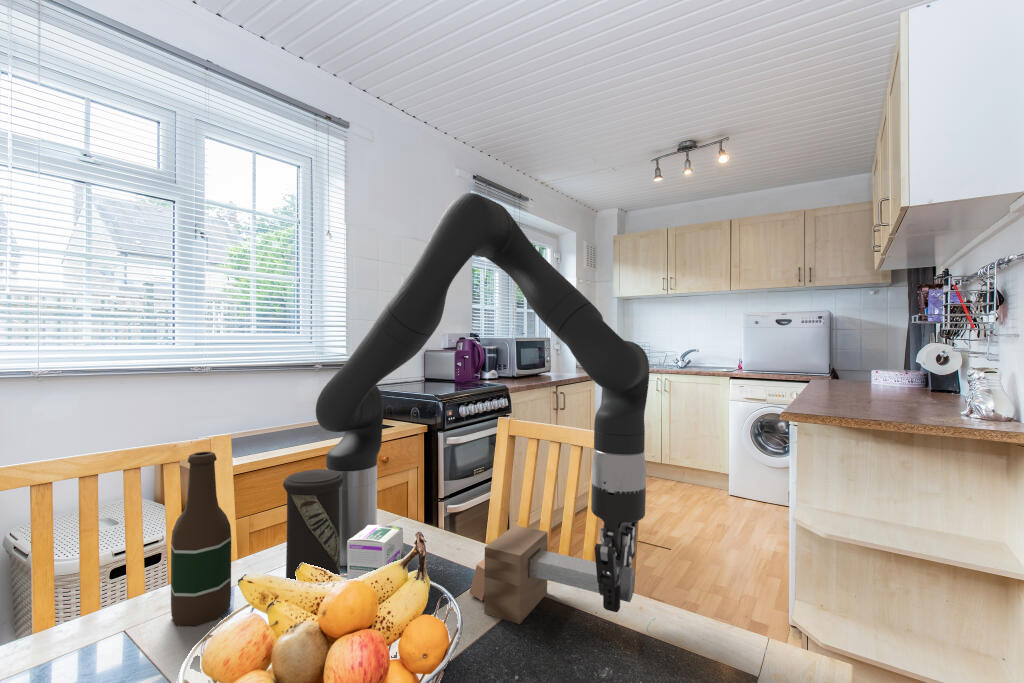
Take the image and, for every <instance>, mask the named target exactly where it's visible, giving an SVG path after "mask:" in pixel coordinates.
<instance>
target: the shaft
mask: <svg viewBox="0 0 1024 683" xmlns="http://www.w3.org/2000/svg"><path fill="white" fill-rule="evenodd" d="M607 574H610V573H609V572H607ZM528 575H529V576H533V577H537V578H541V579H545V580H547V581H549V582H553V583H556V584H557V583H558V584H562V585H565V586H569V587H574V588H577V589H582V590H584V591H585V590H586V591H589V592H594V593H598V594H599V595H600V596H602V597H603V587H604V584H599V583H598V582H597V570H596V561H592V560H589V559H585V558H584V559H583V558H579V557H574V556H570V555H566V554H562V553H558V552H553V551H548V550H547V551H544V550H539V549H538V550H537V551H536V552H535V553H534V554H533V555H531V556H530V557H529V558H528ZM635 575H636V574H635V568H633V567H631V568H630V567H623V568H622V574H621V590H620V601H623V602H626V603H631V601H632V598H633V596H634V591H635V581H636V578H635Z"/></svg>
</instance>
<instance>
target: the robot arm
mask: <svg viewBox="0 0 1024 683" xmlns="http://www.w3.org/2000/svg"><path fill="white" fill-rule="evenodd" d="M473 256H475V257H479V258H485V259H486V260H489V261H490V262H491V263H493V264H494V265H496V266H497V267H498V268H499V269H501V270H502V271H503V272H505V273H506V274H507V275H508V276H509V277H510V278H511V279H512V281H513V282H514V283H515V284H516V286H518V288H519V290H520V291H521V293H522V295H523V296H524V298H525V299H526V301H527V303H528V305H529V306H530V307H531V309H532V310H533V311H534V313H535V314H536V315H537V317H538V318H539V319H540V320H541V321H542V322H543V323H544V325H545V326H546V327H547V328H549V330H550V331H551V332H552V333H553V334H554V335H555V336H556V337H557V338H558V339H560V341H561V342H563V343H564V344H565V345H566V347H567V348H568V349H569V350H570V353H571V354H572V355H573V357H574V358H575V360H576V361H577V362H578V364H579V365H580V367H581V369H583V370H584V372H585V373H586V374H587V375H588V376H589V378H590V379H591V380H592V381H594V383H595V384H597V385H598V386H599V387H600V388H601V398H600V399H601V403H600V406H599V408H598V409H597V411H596V412H595V417H594V422H593V423H594V424H593V428H594V430H593V455H592V461H591V494H590V496H591V499H590V500H591V503H590V504H591V505H590V508H591V509H590V510H591V512H592V514H593V515H594V516H595V517H597V518H599V519H601V520H602V521H603V527H601V528H600V533H599V541H600V543H596V544H595V545H594V555H595V556H594V558H595V562H596V570H597V582H598V583H599V584H604V587H603V596H602V598H603V601H602V605H603V608H604V610H606V611H610V612H613V613H618V612H619V611H620V609H621V600H620V590H621V574H622V568H623V567H630V568H632V566H633V562H632V560H634V558H635V557H636V541H637V528H638V525H637V524H638V523H639V521H642V520H643V519H644V518H645V516H646V495H647V494H646V493H647V492H646V487H647V469H646V468H647V466H646V464H647V463H646V457H645V444H646V443H645V442H646V439H645V438H646V432H645V429H646V427H645V411H646V406H647V398H648V392H649V382H650V363H649V362H650V361H649V358H648V355H647V353H646V351H645V350H644V349H643V347H642V346H640V345H639V344H637V343H636V342H633V341H629V340H624V339H623V338H622V337H620V335H619V334H618V333H616V332H615V330H613V329H612V327H610V326H609V325H608V323H606V322H605V321H604V318H603V315H602V313H601V312H600V310H598V308H597V307H596V306H595V305H594V304H593V303H592V302H591V301H590V300H589V299H588V298H587V297H586V296H584V295H583V294H582V293H581V291H579V289H577V287H575V286H574V285H573V284H572V283H571V282H570V281H569V280H568V279H566V278H565V277H564V276H563V275H562V274H561V273H560V272H559V271H558V270H557V269H556V268H555V267H554V266H553V265H552V264H551V263H550V262H548V260H547V259H546V258H545V257H544V256H543V255H542V254H541V253H540V251H538V249H537V248H536V247H535V246H534V244H533V243H532V242H531V241H530V240H529V238H528V236H526V234H525V233H524V231H523V230H522V229H521V227H520V226H519V224H518V223H517V221H515V219H514V217H513V216H512V214H510V212H509V211H508V210H507V208H505V207H504V206H503V205H502V204H500V203H499V202H496V201H494V200H492V199H490V198H488V197H485V196H483V195H481V194H478V193H475V192H468V193H467V192H466V193H463V194H461V195H459V196H457V197H456V198H455V199H454V200H453V201H452V202H450V204H449V205H448V206H447V207H446V209H445V211H444V212H443V214H442V216H441V217H440V219H439V221H438V223H437V225H436V226H435V228H434V230H433V232H432V234H431V235H430V237H429V239H428V242H427V243H426V245H425V247H424V248H423V250H422V253H421V254H420V255H419V257H418V259H417V261H416V262H415V264H414V265H413V266H412V267H411V270H410V271H409V272H408V274H407V276H406V277H405V278H404V280H403V281H402V283H401V284H400V286H399V288H398V289H397V290H396V291H395V293H394V294H393V295H392V297H391V298H390V300H389V301H388V302H387V304H386V306H385V307H384V308H383V310H382V311H381V313H380V314H379V315H378V317H377V318H376V320H375V322H374V323H373V325H372V327H371V328H370V329H369V331H367V334H366V335H365V336H364V338H363V339H362V340H361V342H360V343H359V345H358V346H357V347H356V349H355V350H354V352H353V353H352V355H350V356H349V358H348V359H347V360H346V362H345V363H344V364H343V365H342V366H341V368H339V370H338V371H337V372H336V373H335V374H334V375H333V377H332V378H330V379H329V381H328V382H327V383H326V385H325V386H324V387H323V388H322V390H321V392H320V393H319V395H318V397H317V400H316V404H315V417H316V421H317V423H318V425H319V426H320V427H321V428H322V429H324V430H326V431H328V432H331V433H342V432H344V434H343V437H342V438H341V440H339V442H338V443H336V445H334V446H333V447H332V448H331V449H330V450H328V451H327V454H326V456H325V457H326V459H325V469H329V470H335V471H337V472H339V473H340V474H341V475H342V476H343V483H342V484H341V486H340V488H339V526H340V567H347V541H348V540H349V539H350V538H352V537H353V536H355V535H356V534H357V533H359V532H360V531H362V530H363V529H365V528H366V526H367V525H378V521H377V520H378V519H377V518H378V457H379V456H378V455H379V453H380V451H381V447H382V440H383V424H384V422H383V421H384V400H383V397H382V393H381V391H380V388H379V387H378V386H377V384H378V383H380V382H381V381H382V380H383V379H384V378H386V377H387V376H389V375H390V374H391V373H393V372H394V371H395V372H396V370H397V369H399V368H400V367H401V366H403V365H404V364H406V363H407V362H409V361H410V360H411V359H413V357H415V356H416V355H417V354H418V353H420V351H421V350H422V349H423V348H424V346H425V345H426V344H427V342H428V341H429V339H430V338H431V336H432V335H433V334H434V333H435V331H436V330H437V328H438V327H439V325H440V323H441V321H442V318H443V314H444V310H445V306H446V305H445V304H446V300H447V295H448V290H449V289H450V286H451V284H452V283H453V280H454V279H455V278H456V276H457V275H458V274H459V272H460V271H461V269H462V268H463V267H464V266H465V264H467V262H468V261H469V260H470V259H471V258H472V257H473ZM607 572H609V573H610V574H607Z"/></svg>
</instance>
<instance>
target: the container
mask: <svg viewBox="0 0 1024 683" xmlns="http://www.w3.org/2000/svg"><path fill="white" fill-rule="evenodd" d="M342 483H343V476H342V475H341V474H340V473H339V472H337V471H335V470H329V469H326V468H321V469H320V468H319V469H318V468H317V469H309V470H303V471H302V470H301V471H299V472H294V473H291V474H289V475H287V477H286V478H285V479H284V480H283V483H282V485H283V489H284V490H285V492H286V556H285V557H286V559H285V560H286V561H285V564H286V565H285V566H286V568H285V579H286V578H290V579H295V580H296V576H295V571H296V569H297V567H298V566H299V564H300V563H301V562H304V563H307V564H310V565H314V566H318V567H321V568H324V569H326V570H329V571H330V572H332V573H334V574H338V575H340V576H341V566H340V526H339V488H340V486H341V484H342Z"/></svg>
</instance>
